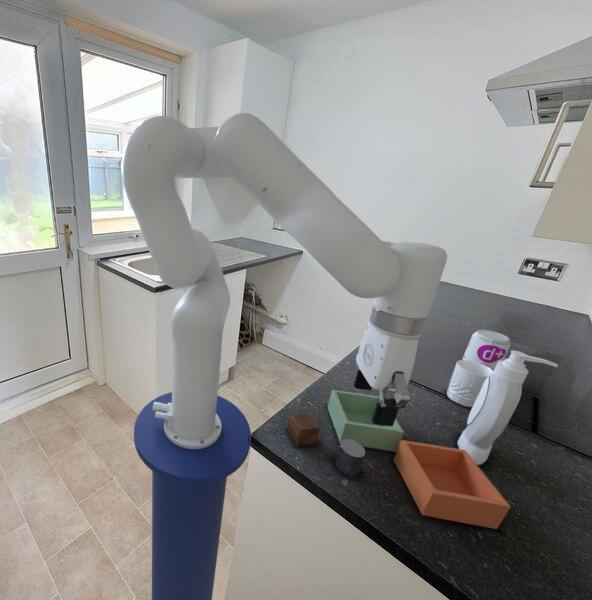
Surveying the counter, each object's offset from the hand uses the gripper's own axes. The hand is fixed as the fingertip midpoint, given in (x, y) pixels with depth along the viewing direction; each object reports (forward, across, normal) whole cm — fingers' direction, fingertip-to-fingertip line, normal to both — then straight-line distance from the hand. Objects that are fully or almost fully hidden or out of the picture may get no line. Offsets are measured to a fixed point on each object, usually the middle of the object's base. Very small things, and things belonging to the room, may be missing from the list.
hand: (371, 404), depth 57 cm
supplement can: (+16, -42, +47) cm, 65 cm away
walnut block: (+15, -6, -9) cm, 19 cm away
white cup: (+16, -30, +37) cm, 50 cm away
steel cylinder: (+15, 0, -1) cm, 15 cm away
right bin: (+16, +2, +15) cm, 22 cm away
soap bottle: (+16, -10, +29) cm, 34 cm away
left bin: (+16, -12, +5) cm, 20 cm away
